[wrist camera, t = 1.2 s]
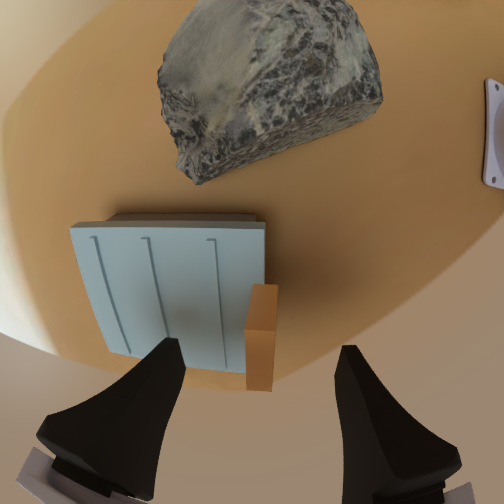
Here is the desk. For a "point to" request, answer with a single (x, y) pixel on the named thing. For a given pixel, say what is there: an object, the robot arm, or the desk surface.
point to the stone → (263, 80)
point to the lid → (183, 291)
